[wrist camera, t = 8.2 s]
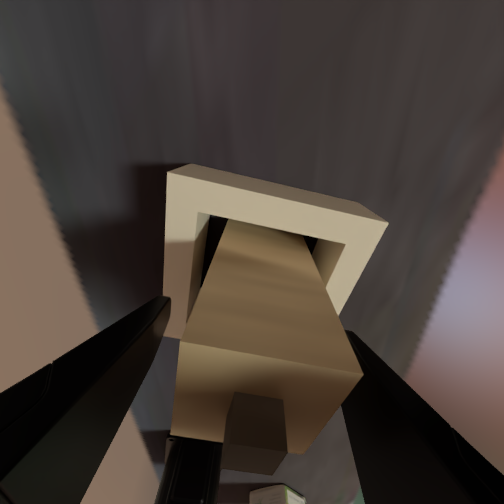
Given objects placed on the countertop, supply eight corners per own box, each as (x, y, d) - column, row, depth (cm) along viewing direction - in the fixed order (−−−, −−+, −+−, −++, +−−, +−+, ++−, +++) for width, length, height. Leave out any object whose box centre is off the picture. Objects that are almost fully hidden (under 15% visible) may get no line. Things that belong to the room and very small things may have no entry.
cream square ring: (303, 321, 15) (312, 362, 12) (179, 298, 14) (161, 335, 12) (357, 202, 11) (388, 222, 8) (190, 163, 10) (166, 172, 8)
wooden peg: (280, 290, 14) (309, 503, 6) (218, 277, 13) (155, 483, 5) (301, 233, 12) (387, 429, 4) (229, 216, 12) (160, 391, 4)
